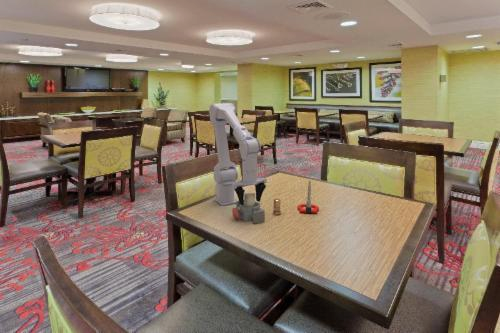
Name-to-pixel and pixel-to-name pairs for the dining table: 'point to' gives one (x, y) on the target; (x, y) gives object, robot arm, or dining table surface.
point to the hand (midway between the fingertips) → (249, 202)
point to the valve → (249, 213)
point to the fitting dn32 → (276, 207)
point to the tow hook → (308, 204)
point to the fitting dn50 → (249, 200)
